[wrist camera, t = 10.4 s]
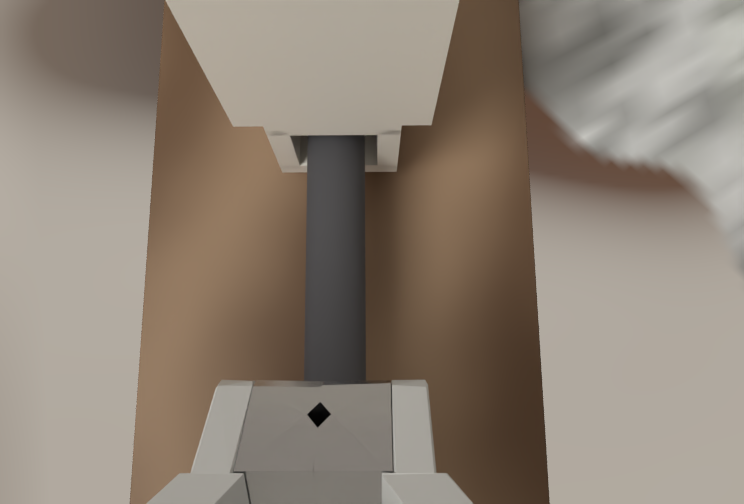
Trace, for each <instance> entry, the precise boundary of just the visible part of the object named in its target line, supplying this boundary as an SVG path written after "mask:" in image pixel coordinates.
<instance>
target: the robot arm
mask: <svg viewBox="0 0 744 504" xmlns="http://www.w3.org/2000/svg"><path fill="white" fill-rule="evenodd" d="M146 504H473V502H472V501H471V500H470V499H469V498H468V497H467V496H466V494H465V493H464V492H463V491H462V490H461V489H460V487H459V486H458V485H457V484H456V483H455V482H454V480H453V479H452V478H451V477H450V476H449V475H448V473H436V463H435V453H434V442H433V432H432V422H431V411H430V401H429V390H428V384H427V382H426V380H392V381H390V380H367V381H279V380H256V381H245V380H221V381H220V383H219V384H218V386H217V387H216V389H215V392H214V395H213V399H212V402H211V405H210V409H209V412H208V415H207V419H206V422H205V425H204V429H203V432H202V435H201V439H200V442H199V446H198V449H197V452H196V456H195V459H194V462H193V466H192V469H191V472H190V473H179V474H178V475H177V476H176V477H175V478H174V479H173V480H172V481H170V482H169V483H168V484H167V485H166V486H165V487H164V488H163V489H162V490H161V491H160V492H158V493H157V494H156V495H155V496H154V497H153V498H152V499H151V500H150V501H149V502H147V503H146Z"/></svg>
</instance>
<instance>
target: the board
mask: <svg viewBox="0 0 744 504" xmlns="http://www.w3.org/2000/svg"><path fill="white" fill-rule="evenodd" d="M529 180H530V179H529V164H528V147H527V131H526V115H525V98H524V82H523V66H522V49H521V33H520V17H519V1H518V0H459V4H458V9H457V13H456V18H455V22H454V27H453V31H452V35H451V40H450V44H449V49H448V53H447V58H446V62H445V67H444V71H443V76H442V80H441V85H440V89H439V94H438V98H437V103H436V107H435V112H434V116H433V121H432V125H402V127H401V137H400V146H399V155H398V164H397V172H365V276H366V381H367V380H390V381H392V380H426V382H427V384H428V390H429V401H430V411H431V422H432V432H433V442H434V453H435V463H436V473H448V475H449V476H450V477H451V478H452V479H453V480H454V482H455V483H456V484H457V485H458V486H459V487H460V489H461V490H462V491H463V492H464V493H465V494H466V496H467V497H468V498H469V499H470V500H471V501H472V502H473V504H550V503H549V488H548V472H547V455H546V439H545V424H544V407H543V390H542V375H541V358H540V341H539V325H538V309H537V293H536V276H535V260H534V245H533V228H532V212H531V195H530V181H529ZM306 214H307V172H285V173H282V170H281V168H280V166H279V163H278V161H277V159H276V156H275V154H274V151H273V149H272V147H271V144H270V142H269V140H268V137H267V135H266V133H265V130H264V128H263V126H253V127H233V125H232V124H231V122H230V120H229V118H228V116H227V114H226V112H225V110H224V109H223V107H222V105H221V103H220V101H219V99H218V97H217V96H216V94H215V92H214V90H213V88H212V86H211V84H210V83H209V81H208V79H207V77H206V75H205V73H204V71H203V69H202V68H201V66H200V64H199V62H198V60H197V58H196V56H195V55H194V53H193V51H192V49H191V47H190V45H189V43H188V42H187V40H186V38H185V36H184V34H183V32H182V30H181V29H180V27H179V25H178V23H177V21H176V19H175V17H174V15H173V14H172V12H171V10H170V8H169V6H168V4H167V2H166V1H165V2H164V16H163V31H162V44H161V60H160V73H159V89H158V103H157V118H156V131H155V146H154V160H153V175H152V189H151V203H150V219H149V232H148V247H147V262H146V276H145V290H144V305H143V319H142V320H143V321H142V334H141V348H140V363H139V377H138V391H137V392H138V393H137V406H136V420H135V421H136V422H135V436H134V451H133V464H132V478H131V493H130V504H146V503H147V502H149V501H150V500H151V499H152V498H153V497H154V496H155V495H156V494H157V493H158V492H160V491H161V490H162V489H163V488H164V487H165V486H166V485H167V484H168V483H169V482H170V481H172V480H173V479H174V478H175V477H176V476H177V475H178V474H179V473H190V472H191V469H192V466H193V462H194V459H195V456H196V452H197V449H198V446H199V442H200V439H201V435H202V432H203V429H204V425H205V422H206V419H207V415H208V412H209V409H210V405H211V402H212V399H213V395H214V392H215V389H216V387H217V386H218V384H219V383H220V381H221V380H245V381H256V380H279V381H304V343H305V279H306Z"/></svg>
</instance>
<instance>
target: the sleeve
mask: <svg viewBox="0 0 744 504" xmlns="http://www.w3.org/2000/svg"><path fill="white" fill-rule="evenodd" d="M165 1H166V2H167V4H168V6H169V8H170V10H171V12H172V14H173V15H174V17H175V19H176V21H177V23H178V25H179V27H180V29H181V30H182V32H183V34H184V36H185V38H186V40H187V42H188V43H189V45H190V47H191V49H192V51H193V53H194V55H195V56H196V58H197V60H198V62H199V64H200V66H201V68H202V69H203V71H204V73H205V75H206V77H207V79H208V81H209V83H210V84H211V86H212V88H213V90H214V92H215V94H216V96H217V97H218V99H219V101H220V103H221V105H222V107H223V109H224V110H225V112H226V114H227V116H228V118H229V120H230V122H231V124H232V125H233V127H253V126H263V128H264V130H265V133H266V135H267V137H268V140H269V142H270V144H271V147H272V149H273V151H274V154H275V156H276V159H277V161H278V163H279V166H280V168H281V170H282V173H285V172H307V149H308V135H365V172H397V164H398V155H399V146H400V137H401V127H402V125H432V121H433V116H434V112H435V107H436V103H437V98H438V94H439V89H440V85H441V80H442V76H443V71H444V67H445V62H446V58H447V53H448V49H449V44H450V40H451V35H452V31H453V27H454V22H455V18H456V13H457V9H458V4H459V0H165Z"/></svg>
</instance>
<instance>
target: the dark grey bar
mask: <svg viewBox="0 0 744 504" xmlns="http://www.w3.org/2000/svg"><path fill="white" fill-rule="evenodd" d="M304 381H366V276H365V135H308V149H307V214H306V279H305V343H304Z"/></svg>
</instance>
